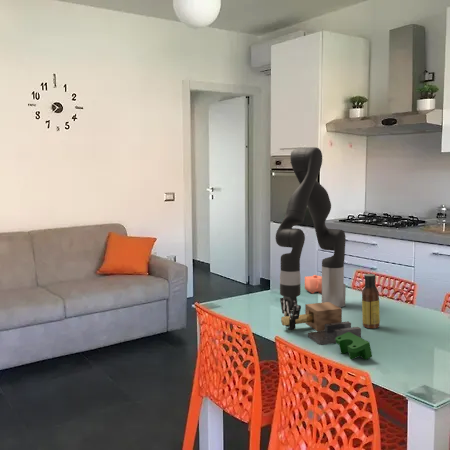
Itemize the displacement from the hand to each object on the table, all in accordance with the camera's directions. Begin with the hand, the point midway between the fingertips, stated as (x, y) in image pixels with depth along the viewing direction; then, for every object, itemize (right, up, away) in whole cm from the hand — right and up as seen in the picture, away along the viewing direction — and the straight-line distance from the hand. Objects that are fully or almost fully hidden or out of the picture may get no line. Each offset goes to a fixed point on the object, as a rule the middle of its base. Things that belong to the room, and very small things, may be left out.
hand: (290, 327), depth 193 cm
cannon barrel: (+5, +1, +1) cm, 5 cm away
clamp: (+17, -4, -26) cm, 31 cm away
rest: (+14, -2, -10) cm, 17 cm away
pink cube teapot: (+19, +6, +57) cm, 60 cm away
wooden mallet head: (+13, 0, +4) cm, 14 cm away
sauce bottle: (+30, 0, +2) cm, 31 cm away
